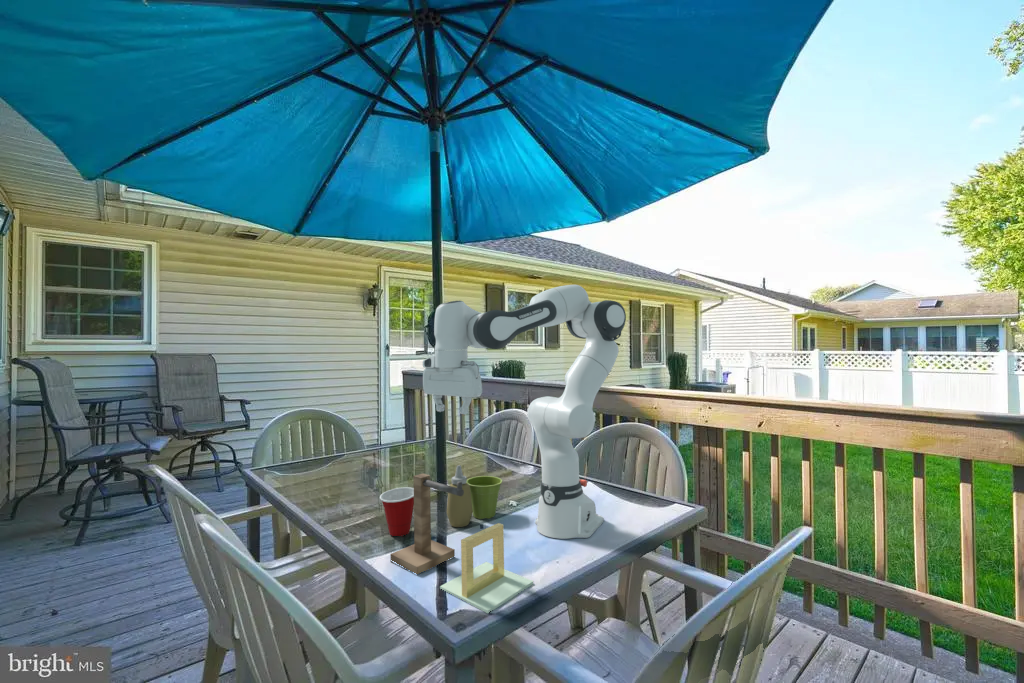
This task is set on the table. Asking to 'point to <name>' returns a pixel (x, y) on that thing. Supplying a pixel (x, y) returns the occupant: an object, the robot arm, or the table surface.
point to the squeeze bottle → (459, 502)
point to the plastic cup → (398, 509)
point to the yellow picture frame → (467, 559)
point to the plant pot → (484, 495)
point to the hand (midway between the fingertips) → (451, 412)
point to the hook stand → (425, 529)
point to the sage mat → (489, 588)
